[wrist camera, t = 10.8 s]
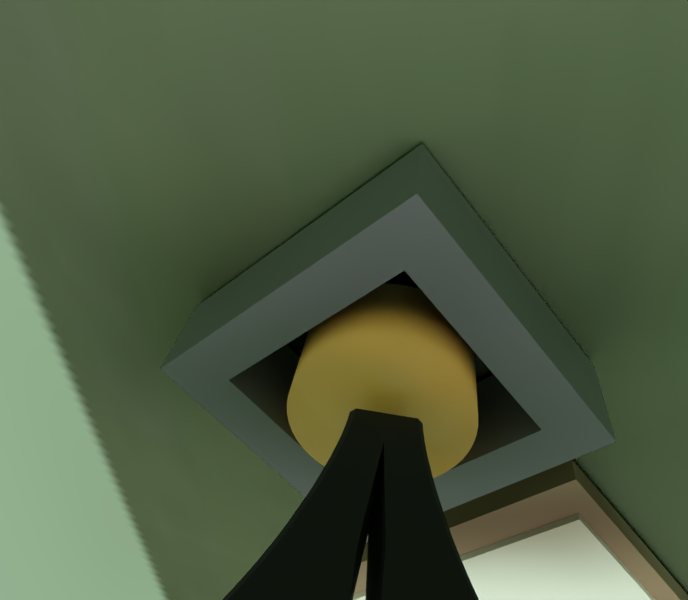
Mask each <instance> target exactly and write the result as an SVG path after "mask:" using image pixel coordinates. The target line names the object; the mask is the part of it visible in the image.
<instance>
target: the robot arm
mask: <svg viewBox="0 0 688 600" xmlns="http://www.w3.org/2000/svg"><path fill="white" fill-rule="evenodd" d="M367 536H368V550H367V574H366V599H365V600H479V598H478V596H477V594H476V592H475V590H474V588H473V586H472V584H471V581H470V579H469V577H468V574H467V572H466V570H465V567H464V565H463V563H462V560H461V558H460V555H459V553H458V550H457V548H456V545H455V543H454V540H453V538H452V535H451V532H450V529H449V527H448V524H447V521H446V518H445V515H444V512H443V509H442V506H441V503H440V500H439V496H438V493H437V490H436V487H435V483H434V480H433V476H432V472H431V468H430V464H429V460H428V455H427V451H426V445H425V440H424V433H423V424H422V422H421V421H420V420H419V419H418V418H412V417H406V416H400V415H394V414H388V413H382V412H376V411H370V410H364V409H357V408H356V409H354V410H352V411H350V413H349V416H348V420H347V422H346V425H345V427H344V430H343V432H342V434H341V437H340V439H339V441H338V443H337V445H336V447H335V449H334V451H333V453H332V454H331V456H330V458H329V460H328V462H327V463H326V465H325V467H324V468H323V470H322V472H321V473H320V475H319V477H318V478H317V480H316V482H315V483H314V485H313V487H312V488H311V490H310V491H309V493H308V494H307V496H306V497H305V499H304V500H303V502H302V503H301V504H300V506H299V507H298V509H297V510H296V512H295V513H294V514H293V516H292V517H291V519H290V520H289V522H288V523H287V524H286V526H285V527H284V528H283V530H282V531H281V532H280V534H279V535H278V536H277V538H276V539H275V540H274V541H273V543H272V544H271V545H270V546H269V548H268V549H267V550H266V551H265V552H264V554H263V555H262V556H261V557H260V558H259V560H258V561H257V562H256V563H255V564H254V566H253V567H252V568H251V569H250V570H249V571H248V572H247V573H246V575H245V576H244V577H243V578H242V579H241V580H240V581H239V582H238V583H237V585H236V586H235V587H234V588H233V589H232V590H231V591H230V592H229V593H228V594H227V595H226V596H225V598H224V599H223V600H353V596H354V592H355V588H356V583H357V579H358V575H359V570H360V566H361V562H362V558H363V553H364V549H365V545H366V540H367Z"/></svg>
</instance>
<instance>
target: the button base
mask: <svg viewBox="0 0 688 600" xmlns="http://www.w3.org/2000/svg"><path fill="white" fill-rule="evenodd" d="M404 270H405V272H406V273H407V274H408V275H409V276H410V277H411V279H412V280H413V281H414V282H415V283H416V284H417V286H418V287H419V288H420V289H421V290H422V291H423V293H424V294H425V295H426V296H427V297H428V298H429V300H430V301H431V302H432V303H433V304H434V305H435V307H436V308H437V309H438V310H439V311H440V312H441V313H442V315H443V316H444V317H445V318H446V319H447V320H448V322H449V323H450V324H451V325H452V326H453V327H454V329H455V330H456V331H457V332H458V333H459V334H460V336H461V337H462V338H463V339H464V340H465V341H466V343H467V344H468V345H469V346H470V347H471V348H472V350H473V351H474V352H475V353H476V354H477V355H478V357H479V358H480V359H481V360H482V361H483V362H484V364H485V365H486V366H487V367H488V368H489V369H490V370H491V372H492V373H493V374H494V375H492V376H490V377H488V378H486V379H484V380H482V381H480V382H478V383H477V403H478V430H477V435H476V438H475V441H474V443H473V445H472V447H471V449H470V450H469V452H468V453H467V455H466V456H465V457H464V458H463V459H462V460H461V461H460V462H459V463H458V464H457V465H456V466H455V467H453V468H452V469H450V470H449V471H447V472H445V473H443V474H441V475H439V476H437V477H435V478H433V480H434V483H435V487H436V490H437V493H438V496H439V500H440V503H441V506H442V509H443V512H444V511H446V510H449V509H451V508H454V507H456V506H458V505H461V504H463V503H466V502H468V501H471V500H473V499H476V498H478V497H481V496H483V495H486V494H488V493H491V492H493V491H496V490H498V489H501V488H503V487H506V486H508V485H511V484H513V483H516V482H518V481H521V480H523V479H525V478H528V477H530V476H533V475H535V474H538V473H540V472H543V471H545V470H548V469H550V468H553V467H555V466H558V465H560V464H563V463H565V462H568V461H570V460H573V459H575V458H578V457H580V456H583V455H585V454H588V453H590V452H592V451H595V450H597V449H600V448H602V447H605V446H607V445H610V444H612V443H615V442H616V439H615V436H614V432H613V429H612V426H611V422H610V419H609V415H608V412H607V408H606V405H605V402H604V398H603V395H602V391H601V388H600V385H599V381H598V378H597V374H596V371H595V367H594V366H593V364H592V363H591V362H590V360H589V359H588V358H587V357H586V355H585V354H584V353H583V351H582V350H581V349H580V347H579V346H578V345H577V344H576V342H575V341H574V340H573V338H572V337H571V336H570V334H569V333H568V332H567V331H566V329H565V328H564V327H563V325H562V324H561V323H560V321H559V320H558V319H557V318H556V316H555V315H554V314H553V312H552V311H551V310H550V309H549V307H548V306H547V305H546V303H545V302H544V301H543V299H542V298H541V297H540V296H539V294H538V293H537V292H536V290H535V289H534V288H533V286H532V285H531V284H530V283H529V281H528V280H527V279H526V277H525V276H524V275H523V273H522V272H521V271H520V270H519V268H518V267H517V266H516V264H515V263H514V262H513V260H512V259H511V258H510V257H509V255H508V254H507V253H506V251H505V250H504V249H503V247H502V246H501V245H500V244H499V242H498V241H497V240H496V238H495V237H494V236H493V235H492V233H491V232H490V231H489V229H488V228H487V227H486V225H485V224H484V223H483V222H482V220H481V219H480V218H479V216H478V215H477V214H476V212H475V211H474V210H473V209H472V207H471V206H470V205H469V203H468V202H467V201H466V199H465V198H464V197H463V196H462V194H461V193H460V192H459V190H458V189H457V188H456V186H455V185H454V184H453V183H452V181H451V180H450V179H449V177H448V176H447V175H446V173H445V172H444V171H443V170H442V168H441V167H440V166H439V164H438V163H437V162H436V160H435V159H434V158H433V157H432V155H431V154H430V153H429V151H428V150H427V149H426V148H425V146H424V145H423V144H421V145H419V146H418V147H416V148H415V149H414V150H412V151H411V152H410V153H408V154H407V155H405V156H404V157H403V158H401V159H400V160H398V161H397V162H396V163H394V164H393V165H392V166H390V167H389V168H387V169H386V170H385V171H383V172H382V173H380V174H379V175H378V176H376V177H375V178H374V179H372V180H371V181H369V182H368V183H367V184H365V185H364V186H362V187H361V188H360V189H358V190H357V191H356V192H354V193H353V194H351V195H350V196H349V197H347V198H346V199H344V200H343V201H342V202H340V203H339V204H338V205H336V206H335V207H333V208H332V209H331V210H329V211H328V212H326V213H325V214H324V215H322V216H321V217H320V218H318V219H317V220H315V221H314V222H313V223H311V224H310V225H308V226H307V227H306V228H304V229H303V230H302V231H300V232H299V233H297V234H296V235H295V236H293V237H292V238H290V239H289V240H288V241H286V242H285V243H284V244H282V245H281V246H279V247H278V248H277V249H275V250H274V251H272V252H271V253H270V254H268V255H267V256H266V257H264V258H263V259H261V260H260V261H259V262H257V263H256V264H254V265H253V266H252V267H250V268H249V269H248V270H246V271H245V272H243V273H242V274H241V275H239V276H238V277H236V278H235V279H234V280H232V281H231V282H230V283H228V284H227V285H225V286H224V287H223V288H221V289H220V290H218V291H217V292H216V293H214V294H213V295H212V296H210V297H209V298H207V299H206V300H205V301H203V302H202V303H200V304H199V305H198V306H197V307H196V308H195V310H194V312H193V313H192V315H191V317H190V319H189V320H188V322H187V324H186V325H185V327H184V329H183V330H182V332H181V334H180V336H179V337H178V339H177V341H176V342H175V344H174V346H173V347H172V349H171V351H170V353H169V354H168V356H167V358H166V359H165V361H164V363H163V365H162V366H161V368H160V370H161V371H163V372H164V373H165V374H166V375H167V376H168V377H169V378H170V379H172V380H173V381H174V382H175V383H176V384H177V385H178V386H180V387H181V388H182V389H183V390H184V391H185V392H186V393H188V394H189V395H190V396H191V397H192V398H193V399H194V400H195V401H197V402H198V403H199V404H200V405H201V406H202V407H203V408H205V409H206V410H207V411H208V412H209V413H210V414H211V415H212V416H214V417H215V418H216V419H217V420H218V421H219V422H220V423H222V424H223V425H224V426H225V427H226V428H227V429H228V430H229V431H231V432H232V433H233V434H234V435H235V436H236V437H237V438H239V439H240V440H241V441H242V442H243V443H244V444H245V445H247V446H248V447H249V448H250V449H251V450H252V451H253V452H254V453H256V454H257V455H258V456H259V457H260V458H261V459H262V460H264V461H265V462H266V463H267V464H268V465H269V466H270V467H271V468H273V469H274V470H275V471H276V472H277V473H278V474H279V475H281V476H282V477H283V478H284V479H285V480H286V481H287V482H289V483H290V484H291V485H292V486H293V487H294V488H295V489H296V490H298V491H299V492H300V493H301V494H302V495H303V496H304V497H306V496H307V494H308V493H309V491H310V490H311V488H312V487H313V485H314V483H315V482H316V480H317V478H318V477H319V475H320V473H321V472H322V470H323V468H324V466H323V465H321V464H320V463H318V462H317V461H316V460H315V459H314V458H312V457H311V456H310V455H309V454H308V453H307V452H306V451H305V450H304V449H303V448H302V446H301V445H300V444H299V442H298V441H297V439H296V438H295V436H294V434H293V432H292V430H291V427H290V425H289V421H288V416H287V399H288V394H289V391H290V388H291V385H292V382H293V378H294V375H295V372H296V369H297V365H298V362H299V359H300V357H299V356H298V355H297V354H296V353H295V352H294V351H293V350H292V349H291V348H290V347H289V346H288V345H287V343H289V342H291V341H292V340H294V339H295V338H297V337H299V336H300V335H302V334H303V333H305V332H307V331H308V330H310V329H311V328H313V327H315V326H316V325H318V324H319V323H321V322H323V321H324V320H326V319H327V318H329V317H331V316H332V315H334V314H335V313H337V312H339V311H340V310H342V309H343V308H345V307H347V306H348V305H350V304H351V303H353V302H355V301H356V300H358V299H360V298H361V297H363V296H364V295H366V294H368V293H369V292H371V291H372V290H374V289H376V288H377V287H379V286H380V285H382V284H384V283H385V282H387V281H388V280H390V279H392V278H393V277H395V276H396V275H398V274H400V273H401V272H403V271H404ZM367 542H368V536H367V540H366V543H367Z"/></svg>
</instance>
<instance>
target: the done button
mask: <svg viewBox="0 0 688 600" xmlns="http://www.w3.org/2000/svg"><path fill="white" fill-rule="evenodd" d="M356 408H357V409H364V410H370V411H376V412H382V413H388V414H394V415H400V416H406V417H412V418H418V419H419V420H420V421H421V422H422V424H423V433H424V440H425V445H426V451H427V455H428V460H429V464H430V468H431V472H432V476H433V478H435V477H437V476H439V475H441V474H443V473H445V472H447V471H449V470H450V469H452V468H453V467H455V466H456V465H457V464H458V463H459V462H460V461H461V460H462V459H463V458H464V457H465V456H466V455H467V453H468V452H469V450H470V449H471V447H472V445H473V443H474V441H475V438H476V435H477V430H478V403H477V383H476V364H475V352H474V351H473V350H472V348H471V347H470V346H469V345H468V344H467V343H466V341H465V340H464V339H463V338H462V337H461V336H460V334H459V333H458V332H457V331H456V330H455V329H454V327H453V326H452V325H451V324H450V323H449V322H448V320H447V319H446V318H445V317H444V316H443V315H442V313H441V312H440V311H439V310H438V309H437V308H436V307H435V305H434V304H433V303H432V302H431V301H430V300H429V298H428V297H427V296H426V295H425V294H424V293H423V291H422V290H420V289H417V288H414V287H410V286H405V285H400V284H389V283H386V284H382V285H380V286H379V287H377V288H376V289H374V290H372V291H371V292H369V293H368V294H366V295H364V296H363V297H361V298H360V299H358V300H356V301H355V302H353V303H351V304H350V305H348V306H347V307H345V308H343V309H342V310H340V311H339V312H337V313H335V314H334V315H332V316H331V317H329V318H327V319H326V320H324V321H323V322H321V323H319V324H318V325H316V326H315V327H313V328H311V329H310V330H308V333H307V337H306V340H305V343H304V346H303V349H302V353H301V356H300V359H299V362H298V365H297V369H296V372H295V375H294V378H293V382H292V385H291V388H290V391H289V394H288V399H287V416H288V421H289V425H290V427H291V430H292V432H293V434H294V436H295V438H296V439H297V441H298V442H299V444H300V445H301V446H302V448H303V449H304V450H305V451H306V452H307V453H308V454H309V455H310V456H311V457H312V458H314V459H315V460H316V461H317V462H318V463H320V464H321V465H323V466H324V467H325V465H326V463H327V462H328V460H329V458H330V456H331V454H332V453H333V451H334V449H335V447H336V445H337V443H338V441H339V439H340V437H341V434H342V432H343V430H344V427H345V425H346V422H347V420H348V416H349V413H350V411H352V410H354V409H356Z"/></svg>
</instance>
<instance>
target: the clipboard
mask: <svg viewBox="0 0 688 600" xmlns="http://www.w3.org/2000/svg"><path fill="white" fill-rule="evenodd" d="M444 515H445V518H446V521H447V524H448V527H449V529H450V532H451V535H452V538H453V540H454V543H455V545H456V548H457V550H458V553H459V555H460V558H461V560H462V563H463V565H464V567H465V570H466V572H467V574H468V577H469V579H470V581H471V584H472V586H473V588H474V590H475V592H476V594H477V596H478V598H479V600H688V595H687V593H686V592H685V591H684V590H683V589H682V588H681V586H680V585H679V584H678V583H677V582H676V581H675V579H674V578H673V577H672V576H671V575H670V574H669V572H668V571H667V570H666V569H665V568H664V567H663V565H662V564H661V563H660V562H659V561H658V560H657V558H656V557H655V556H654V555H653V554H652V553H651V551H650V550H649V549H648V548H647V547H646V545H645V544H644V543H643V542H642V541H641V540H640V538H639V537H638V536H637V535H636V534H635V533H634V531H633V530H632V529H631V528H630V527H629V526H628V524H627V523H626V522H625V521H624V520H623V519H622V517H621V516H620V515H619V514H618V513H617V512H616V510H615V509H614V508H613V507H612V506H611V505H610V503H609V502H608V501H607V500H606V499H605V498H604V496H603V495H602V494H601V493H600V492H599V491H598V489H597V488H596V487H595V486H594V485H593V484H592V482H591V481H590V480H589V479H588V478H587V476H586V475H585V474H584V473H583V472H582V471H581V469H580V468H579V467H578V466H577V465H576V464H575V462H574V461H573V460H570V461H568V462H565V463H563V464H560V465H558V466H555V467H553V468H550V469H548V470H545V471H543V472H540V473H538V474H535V475H533V476H530V477H528V478H525V479H523V480H521V481H518V482H516V483H513V484H511V485H508V486H506V487H503V488H501V489H498V490H496V491H493V492H491V493H488V494H486V495H483V496H481V497H478V498H476V499H473V500H471V501H468V502H466V503H463V504H461V505H458V506H456V507H454V508H451V509H449V510H446V511H444ZM367 550H368V542H367V543H366V545H365V549H364V553H363V558H362V562H361V566H360V570H359V575H358V579H357V583H356V588H355V592H354V596H353V600H365V599H366V574H367Z"/></svg>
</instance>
